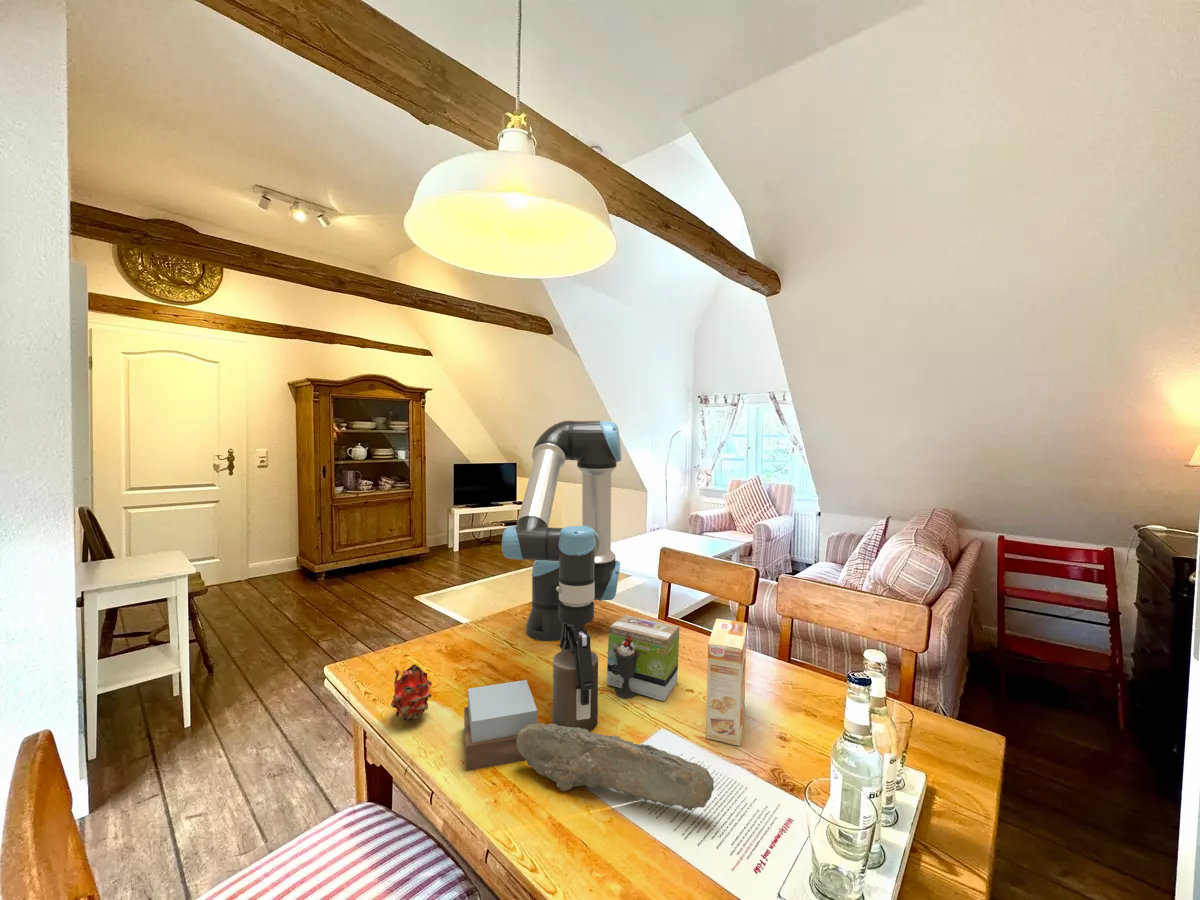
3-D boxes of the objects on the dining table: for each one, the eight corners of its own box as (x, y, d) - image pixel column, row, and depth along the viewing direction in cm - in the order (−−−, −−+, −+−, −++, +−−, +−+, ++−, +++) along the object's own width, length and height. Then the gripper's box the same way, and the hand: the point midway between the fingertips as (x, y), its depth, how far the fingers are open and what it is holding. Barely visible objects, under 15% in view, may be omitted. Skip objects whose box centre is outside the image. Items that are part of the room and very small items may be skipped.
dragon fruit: (379, 727, 100) (379, 670, 100) (405, 705, 108) (405, 652, 108) (415, 734, 98) (415, 676, 97) (439, 711, 106) (439, 657, 106)
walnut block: (464, 731, 100) (464, 707, 100) (527, 721, 104) (527, 698, 104) (466, 773, 88) (466, 746, 87) (537, 760, 91) (538, 734, 91)
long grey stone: (714, 807, 80) (715, 747, 80) (711, 832, 75) (713, 769, 74) (521, 761, 90) (522, 709, 90) (507, 781, 85) (508, 725, 85)
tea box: (605, 686, 117) (607, 625, 117) (622, 669, 126) (624, 612, 126) (665, 703, 110) (667, 638, 110) (678, 684, 119) (680, 624, 119)
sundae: (621, 703, 110) (623, 637, 110) (606, 689, 116) (608, 627, 116) (645, 696, 113) (647, 632, 113) (630, 683, 119) (632, 623, 119)
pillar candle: (606, 725, 102) (607, 654, 101) (566, 741, 96) (567, 667, 96) (582, 703, 110) (582, 638, 110) (543, 717, 104) (544, 648, 104)
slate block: (468, 707, 100) (468, 688, 100) (526, 698, 103) (526, 679, 103) (471, 743, 88) (471, 721, 88) (537, 731, 92) (537, 710, 92)
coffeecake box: (741, 747, 95) (743, 649, 95) (704, 738, 98) (706, 643, 97) (746, 707, 109) (748, 621, 109) (713, 701, 112) (715, 617, 111)
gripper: (547, 585, 113) (546, 675, 114) (572, 624, 89) (571, 738, 90) (578, 582, 115) (577, 671, 116) (611, 620, 92) (610, 731, 92)
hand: (575, 700), depth 103 cm, fingers open, 13 cm apart
